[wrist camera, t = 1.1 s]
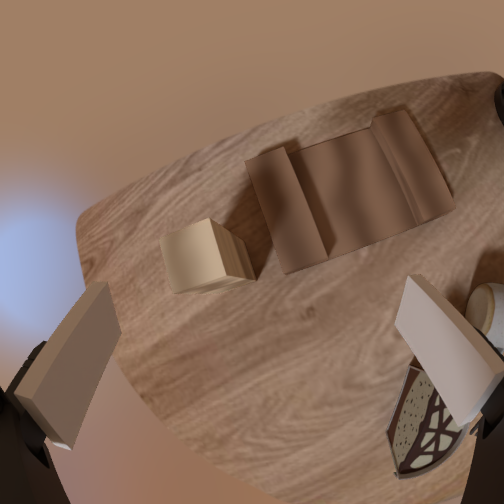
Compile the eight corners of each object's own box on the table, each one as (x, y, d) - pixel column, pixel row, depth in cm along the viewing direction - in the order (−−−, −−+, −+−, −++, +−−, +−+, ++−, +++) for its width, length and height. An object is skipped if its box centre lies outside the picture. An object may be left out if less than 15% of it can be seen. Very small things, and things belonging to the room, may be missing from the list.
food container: (421, 443, 27) (445, 481, 17) (381, 441, 28) (396, 483, 19) (452, 358, 28) (491, 377, 18) (412, 353, 29) (444, 373, 20)
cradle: (400, 121, 33) (404, 109, 30) (447, 214, 30) (456, 207, 27) (249, 170, 37) (244, 161, 34) (286, 275, 34) (283, 273, 31)
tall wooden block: (244, 241, 36) (209, 217, 24) (257, 280, 35) (226, 275, 23) (207, 255, 36) (158, 238, 25) (218, 293, 35) (172, 293, 24)
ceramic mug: (466, 281, 29) (497, 279, 21) (509, 288, 27) (542, 287, 19) (450, 364, 28) (477, 381, 20) (495, 366, 26) (524, 379, 19)
